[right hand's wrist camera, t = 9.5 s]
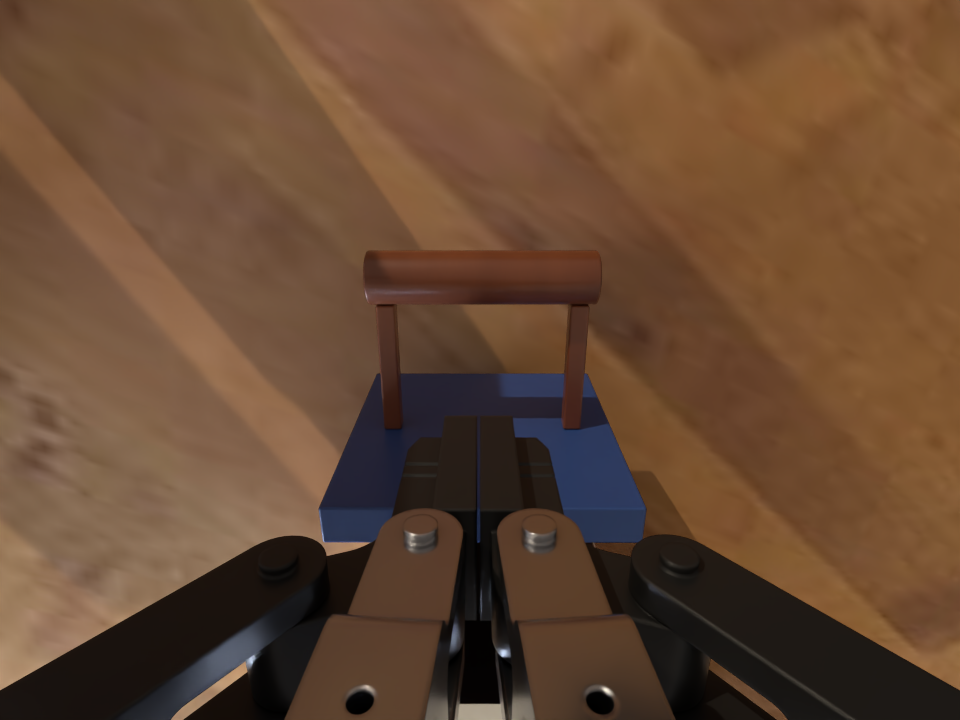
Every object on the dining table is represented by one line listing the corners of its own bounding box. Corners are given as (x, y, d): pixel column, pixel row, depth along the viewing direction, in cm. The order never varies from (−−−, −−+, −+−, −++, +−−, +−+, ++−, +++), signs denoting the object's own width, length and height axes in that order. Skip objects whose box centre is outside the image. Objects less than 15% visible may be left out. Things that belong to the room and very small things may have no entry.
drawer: (365, 227, 22) (288, 290, 13) (599, 227, 22) (677, 290, 13) (394, 605, 29) (357, 807, 20) (569, 606, 29) (607, 807, 20)
